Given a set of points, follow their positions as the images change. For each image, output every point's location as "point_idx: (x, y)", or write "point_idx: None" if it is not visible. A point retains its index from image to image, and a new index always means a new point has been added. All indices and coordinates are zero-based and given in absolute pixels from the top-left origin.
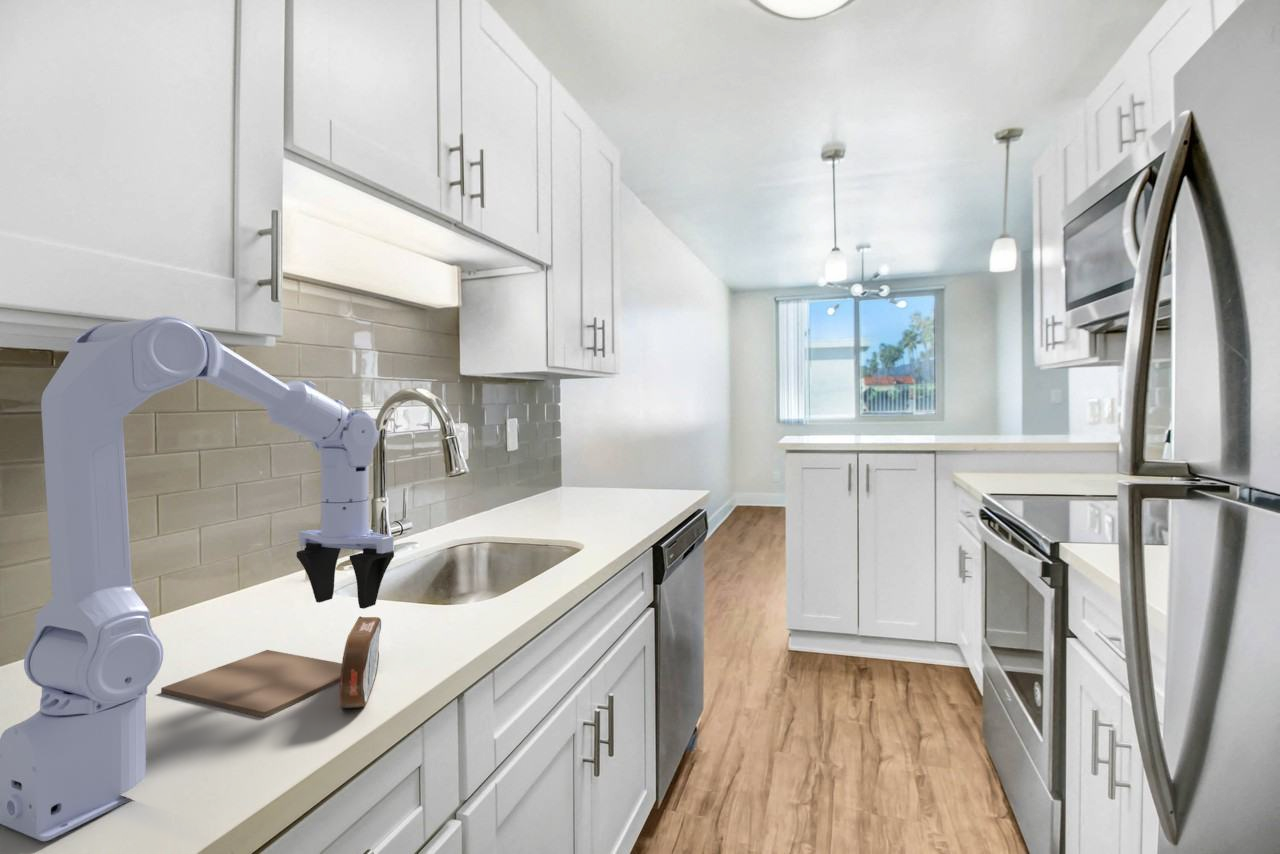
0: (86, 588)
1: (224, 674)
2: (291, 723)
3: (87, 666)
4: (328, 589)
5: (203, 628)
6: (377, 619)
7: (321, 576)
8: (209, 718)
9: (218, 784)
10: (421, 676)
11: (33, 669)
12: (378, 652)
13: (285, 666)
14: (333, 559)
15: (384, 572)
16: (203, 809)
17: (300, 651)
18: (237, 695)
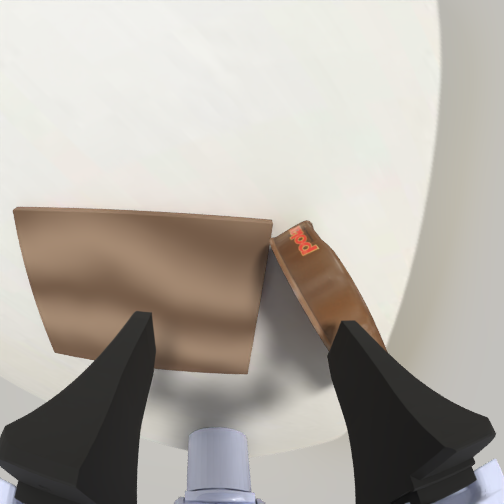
0: None
1: (67, 310)
2: (290, 367)
3: None
4: (146, 352)
5: None
6: (373, 329)
7: (134, 413)
8: (182, 380)
9: (305, 422)
10: (392, 209)
11: None
12: (312, 227)
13: (115, 263)
14: (109, 436)
15: (427, 390)
16: (318, 432)
17: (50, 170)
18: (163, 355)
